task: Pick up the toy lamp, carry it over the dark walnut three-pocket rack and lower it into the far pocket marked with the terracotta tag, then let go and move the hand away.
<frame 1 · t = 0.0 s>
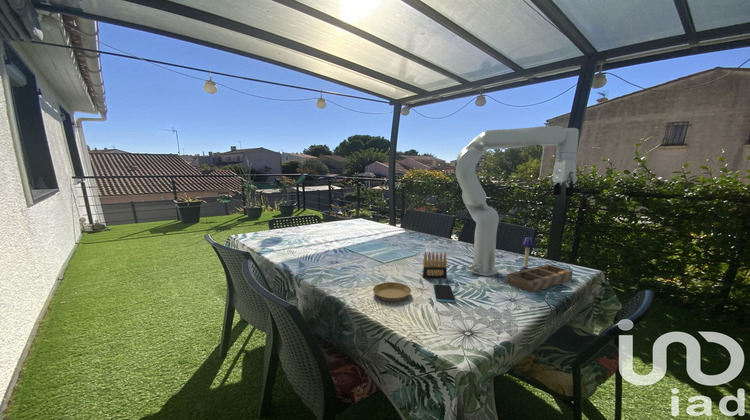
hand: (562, 195, 122), 37 cm above the table, tool pointing down, fingers open, 9 cm apart
rack: (539, 281, 119), on the table
plant saucer: (391, 296, 105), on the table
toy lamp: (525, 271, 132), on the table
smartphone: (443, 294, 107), on the table
ammunition clip: (434, 277, 123), on the table
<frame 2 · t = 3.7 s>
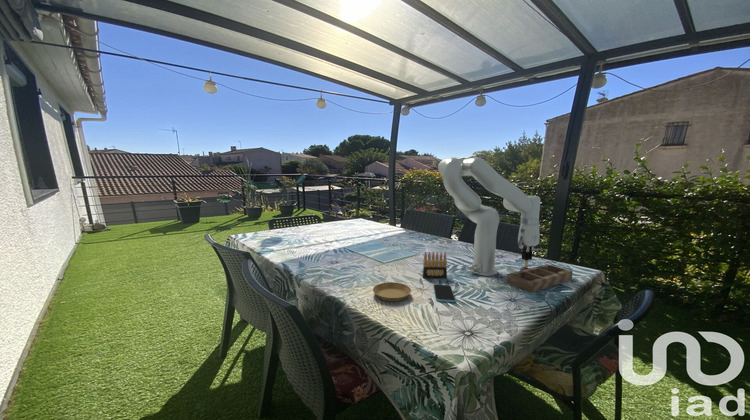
hand: (526, 258, 131), 6 cm above the table, tool pointing down, fingers closed on toy lamp
toy lamp: (525, 271, 132), on the table, touching gripper
everything else where it was.
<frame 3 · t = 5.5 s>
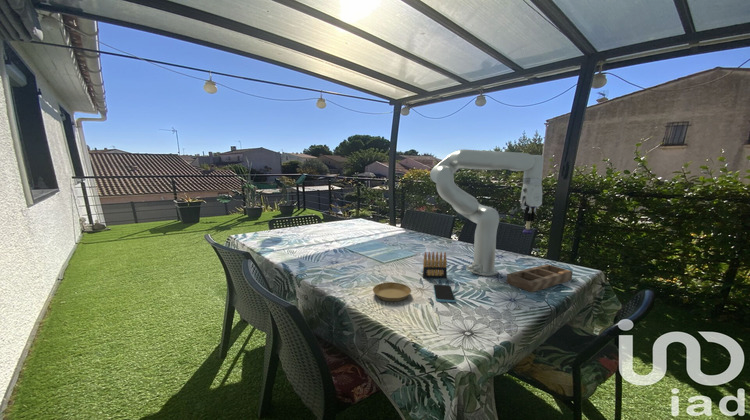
hand: (528, 220, 129), 25 cm above the table, tool pointing down, fingers closed on toy lamp
toy lamp: (528, 233, 129), point 19 cm above the table, touching gripper
everything else where it was.
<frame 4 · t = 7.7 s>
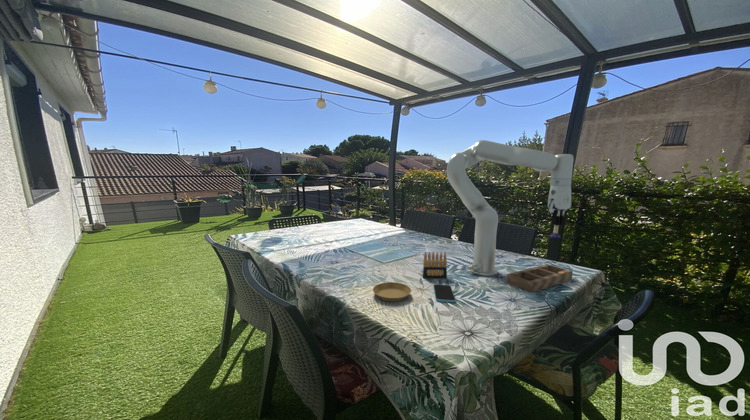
hand: (556, 224, 120), 25 cm above the table, tool pointing down, fingers closed on toy lamp
toy lamp: (556, 238, 121), point 18 cm above the table, touching gripper
everything else where it was.
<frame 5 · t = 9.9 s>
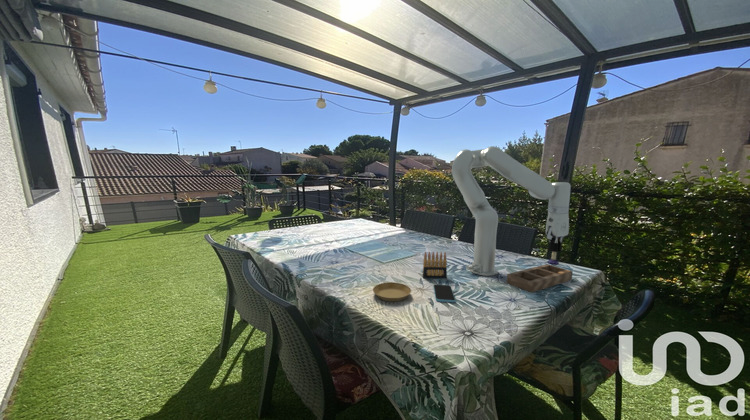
hand: (554, 250, 122), 13 cm above the table, tool pointing down, fingers closed on toy lamp
toy lamp: (554, 264, 122), point 6 cm above the table, touching gripper
everything else where it was.
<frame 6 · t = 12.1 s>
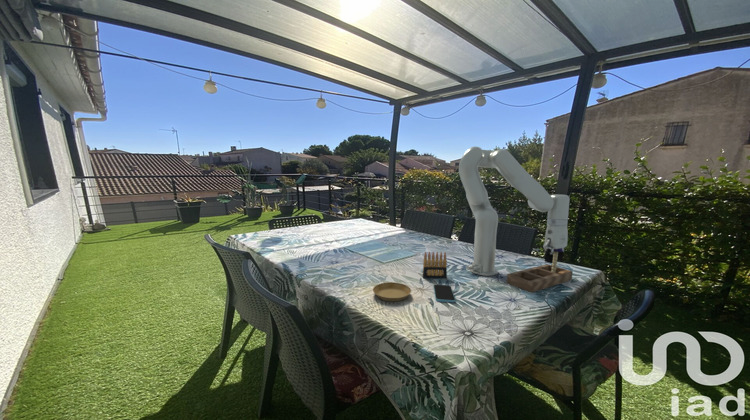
hand: (553, 260, 122), 8 cm above the table, tool pointing down, fingers open, 7 cm apart
toy lamp: (553, 277, 124), resting in rack
everything else where it was.
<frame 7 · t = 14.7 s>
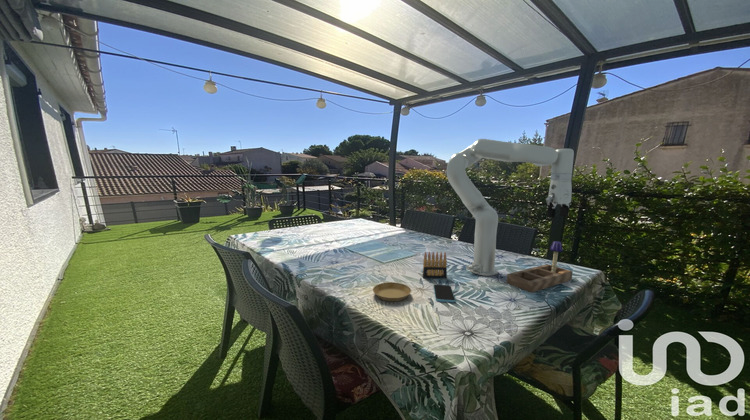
hand: (557, 216, 120), 28 cm above the table, tool pointing down, fingers open, 9 cm apart
nothing on the table moved.
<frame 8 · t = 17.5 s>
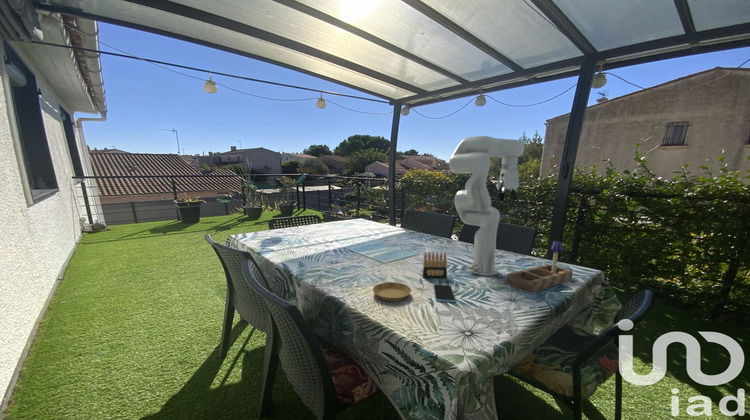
hand: (507, 199, 145), 33 cm above the table, tool pointing down, fingers open, 9 cm apart
nothing on the table moved.
at the end: toy lamp 1.0 cm from the target spot on the rack, point 0.0 cm above the rack's base; toy lamp tilted 0°; the gripper is holding nothing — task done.
